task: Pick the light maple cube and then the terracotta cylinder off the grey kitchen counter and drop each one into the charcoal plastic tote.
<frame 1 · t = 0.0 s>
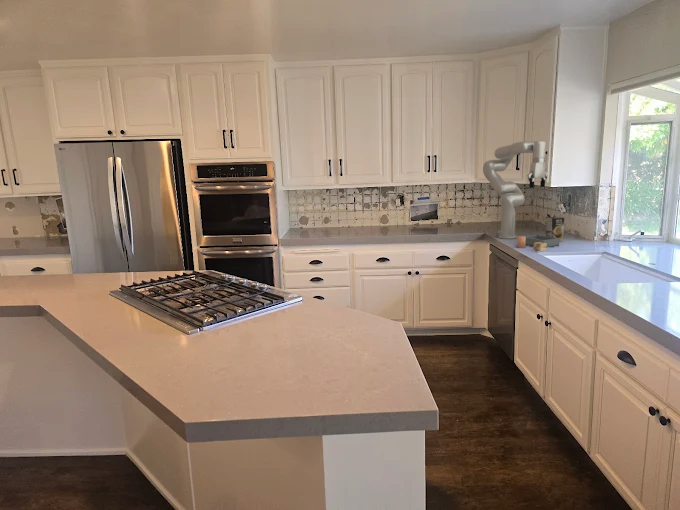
hand: (537, 187, 294), 37 cm above the countertop, tool pointing down, fingers open, 9 cm apart
terracotta cylinder: (521, 247, 288), on the countertop
tote: (539, 245, 293), on the countertop
coffee box: (554, 241, 304), on the countertop
maple cube: (540, 251, 276), on the countertop
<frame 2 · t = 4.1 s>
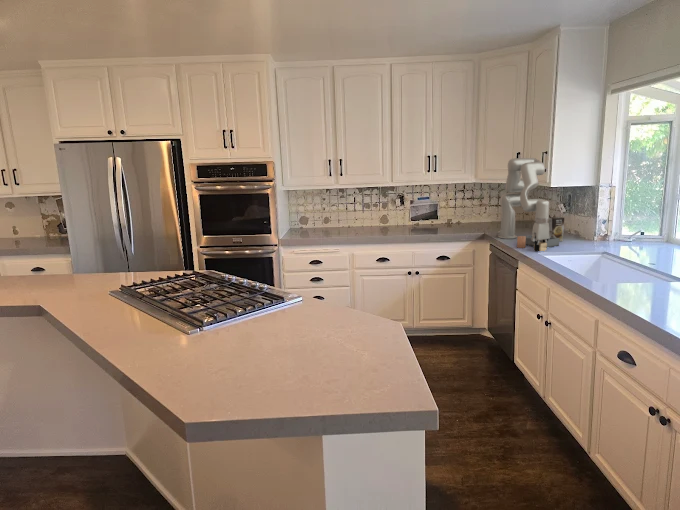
hand: (540, 250, 276), 0 cm above the countertop, tool pointing down, fingers closed on maple cube, 4 cm apart
maple cube: (540, 250, 276), on the countertop, touching gripper
everything else where it was.
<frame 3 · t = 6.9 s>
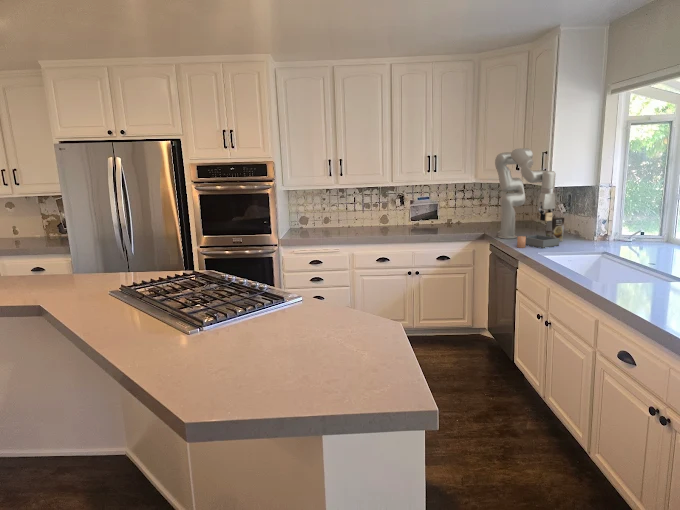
hand: (545, 219, 286), 17 cm above the countertop, tool pointing down, fingers closed on maple cube, 4 cm apart
maple cube: (545, 220, 286), point 17 cm above the countertop, touching gripper
everything else where it was.
when the fingers open (4 cm above the countertop, at t = 9.8 s): maple cube drops 3 cm, resting on tote.
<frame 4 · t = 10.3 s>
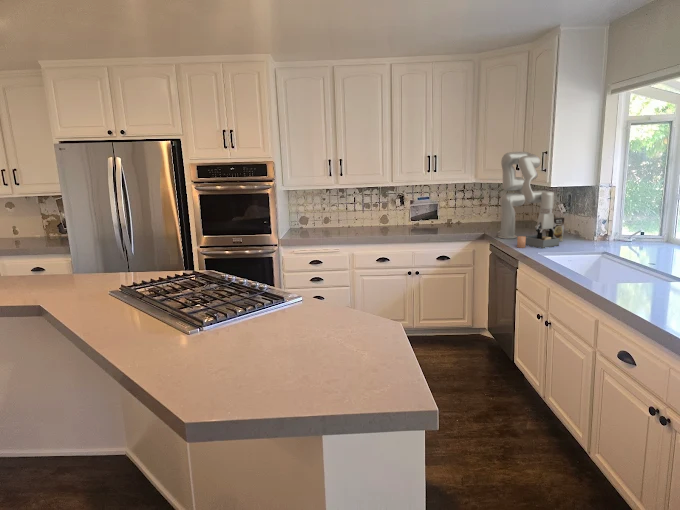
hand: (545, 237, 289), 5 cm above the countertop, tool pointing down, fingers open, 9 cm apart
maple cube: (544, 244, 290), point 1 cm above the countertop, touching tote
everything else where it was.
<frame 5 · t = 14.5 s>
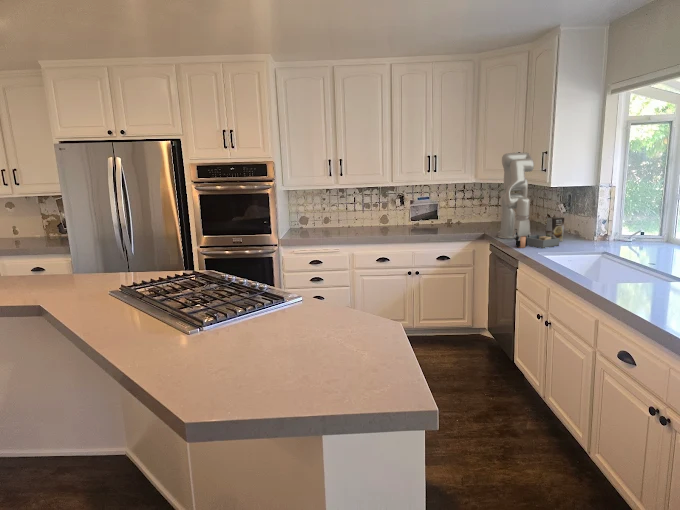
hand: (521, 245, 288), 1 cm above the countertop, tool pointing down, fingers closed on terracotta cylinder, 5 cm apart
terracotta cylinder: (521, 247, 288), on the countertop, touching gripper
everything else where it was.
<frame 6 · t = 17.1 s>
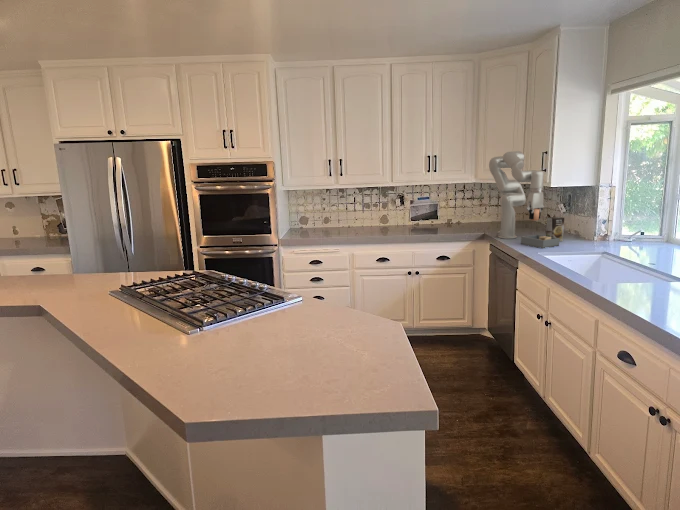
hand: (534, 218, 293), 17 cm above the countertop, tool pointing down, fingers closed on terracotta cylinder, 5 cm apart
terracotta cylinder: (534, 219, 293), point 16 cm above the countertop, touching gripper
everything else where it was.
when the fingers open (5 cm above the countertop, at t = 20.0 s): terracotta cylinder drops 3 cm, resting on tote.
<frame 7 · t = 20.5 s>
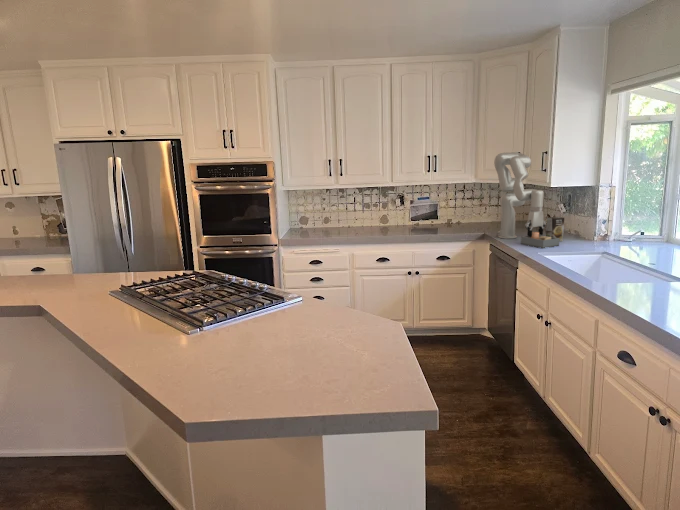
hand: (535, 235, 296), 6 cm above the countertop, tool pointing down, fingers open, 9 cm apart
terracotta cylinder: (534, 242, 297), point 1 cm above the countertop, touching tote
everything else where it was.
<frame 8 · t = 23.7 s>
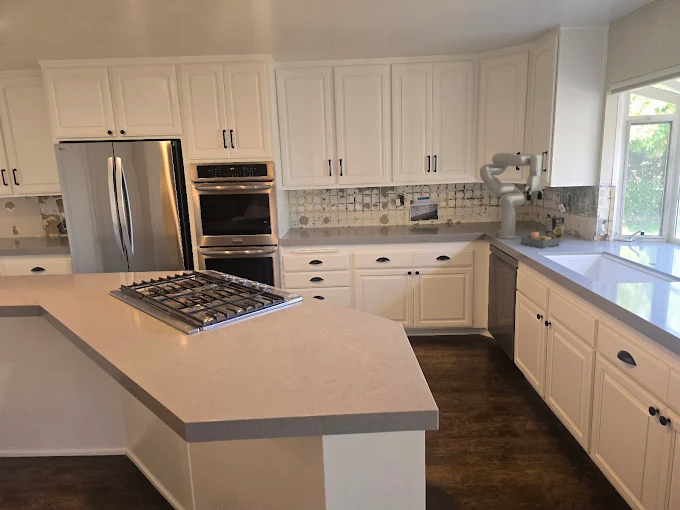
hand: (534, 200, 298), 28 cm above the countertop, tool pointing down, fingers open, 9 cm apart
nothing on the countertop moved.
at the end: maple cube inside the target area on the tote (4.0 cm from its centre), point 0.8 cm above the tote's base; terracotta cylinder inside the target area on the tote (3.9 cm from its centre), point 0.9 cm above the tote's base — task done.
